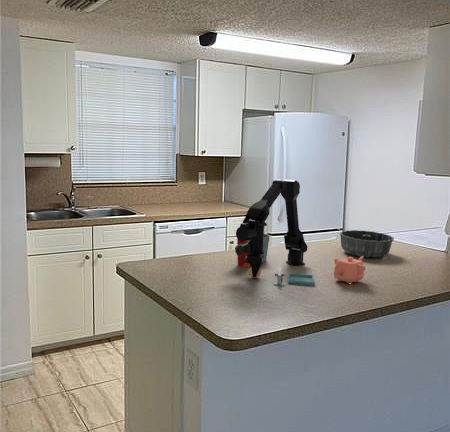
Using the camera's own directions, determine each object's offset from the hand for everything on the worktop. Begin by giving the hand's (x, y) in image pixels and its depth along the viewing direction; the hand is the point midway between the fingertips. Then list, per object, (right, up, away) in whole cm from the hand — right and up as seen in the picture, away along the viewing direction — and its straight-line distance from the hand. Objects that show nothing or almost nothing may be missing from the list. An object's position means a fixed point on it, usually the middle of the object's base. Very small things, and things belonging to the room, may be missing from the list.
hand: (254, 275), depth 194 cm
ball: (0, -1, 0) cm, 1 cm away
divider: (+10, -2, -1) cm, 10 cm away
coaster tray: (+18, -2, -2) cm, 19 cm away
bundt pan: (+59, +4, +49) cm, 77 cm away
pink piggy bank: (+38, -3, 0) cm, 38 cm away
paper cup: (-4, +2, +19) cm, 19 cm away
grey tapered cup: (+3, +3, +29) cm, 29 cm away
